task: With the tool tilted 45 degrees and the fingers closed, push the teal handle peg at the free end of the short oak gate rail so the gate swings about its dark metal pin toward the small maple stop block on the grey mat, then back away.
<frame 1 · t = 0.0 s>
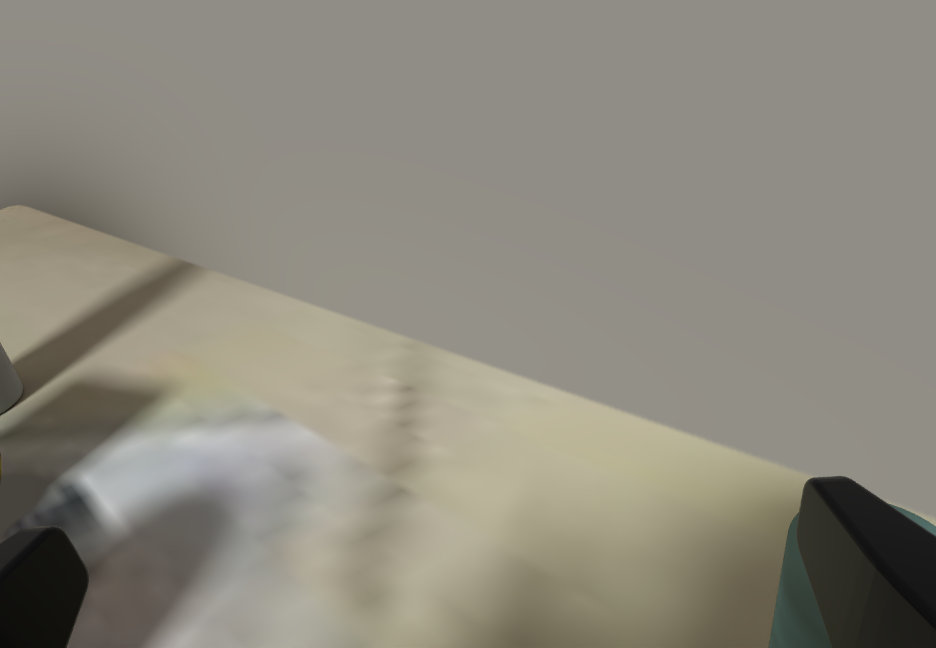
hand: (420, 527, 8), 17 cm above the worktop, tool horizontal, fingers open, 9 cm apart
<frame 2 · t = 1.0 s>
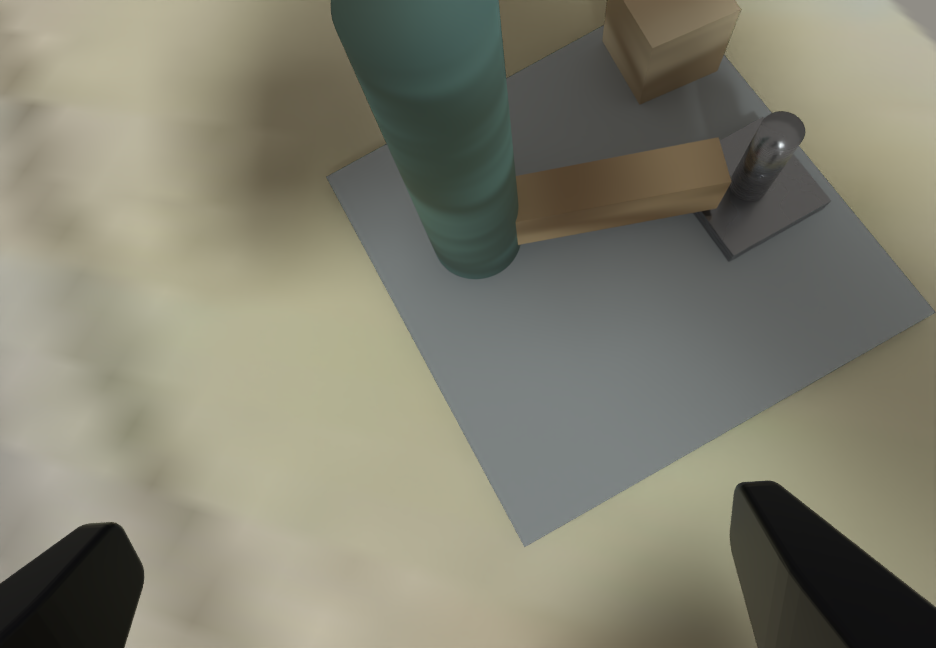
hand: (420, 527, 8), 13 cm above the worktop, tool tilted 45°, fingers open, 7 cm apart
post on square base: (743, 192, 22), resting on yard mat
stop block: (658, 55, 24), resting on yard mat
gate: (574, 132, 17), point 6 cm above the worktop, hinge at 0.0°
yard mat: (603, 244, 23), on the worktop
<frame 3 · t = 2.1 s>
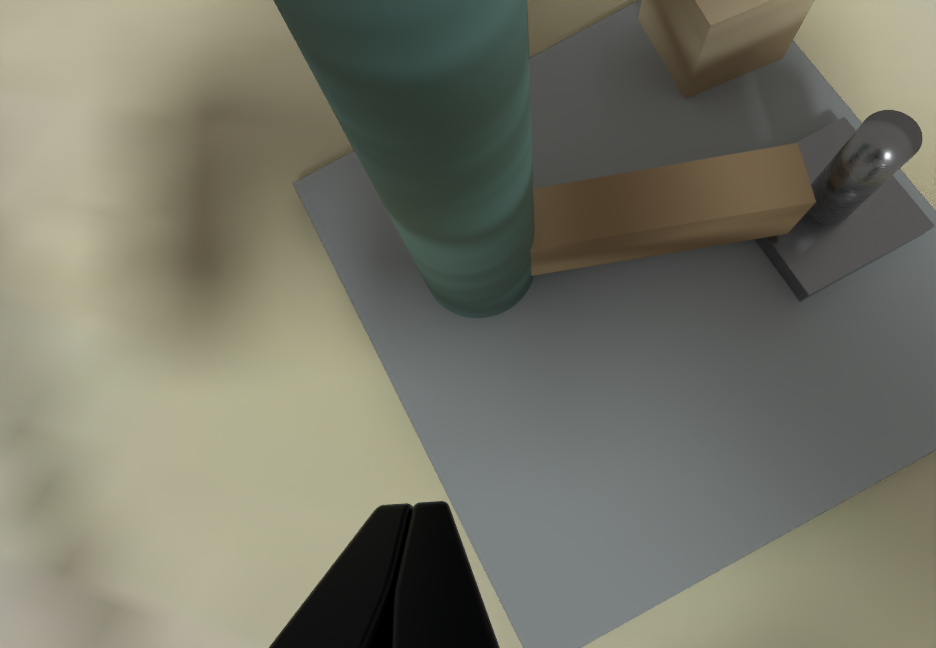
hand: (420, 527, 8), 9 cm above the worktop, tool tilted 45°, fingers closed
post on square base: (817, 212, 17), resting on yard mat
stop block: (708, 38, 19), resting on yard mat
gate: (617, 134, 12), point 6 cm above the worktop, hinge at 0.0°
yard mat: (638, 274, 18), on the worktop
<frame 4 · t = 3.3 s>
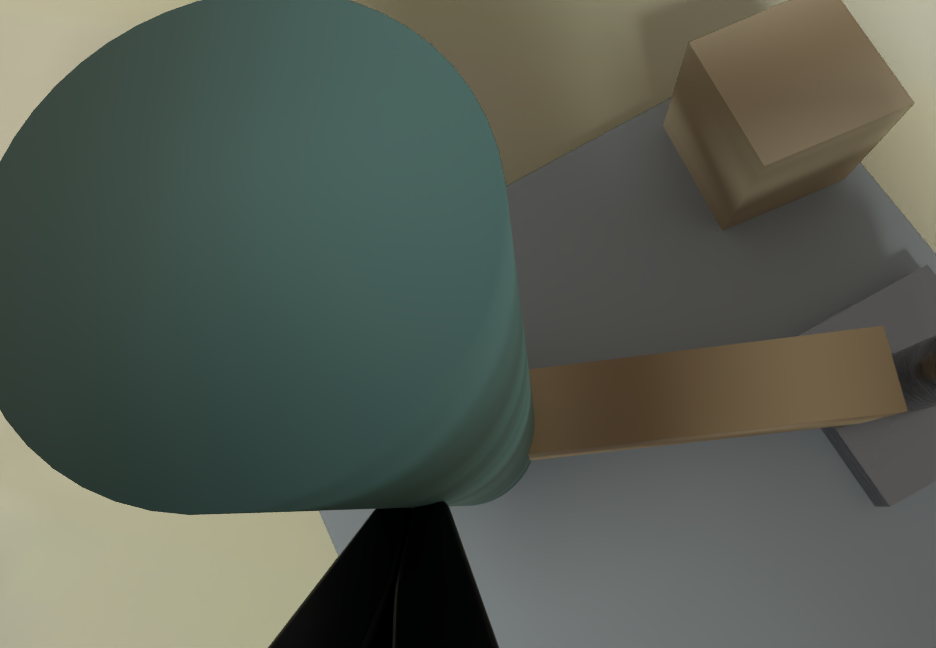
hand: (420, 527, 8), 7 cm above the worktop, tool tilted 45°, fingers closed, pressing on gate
post on square base: (894, 385, 14), resting on yard mat
stop block: (750, 152, 15), resting on yard mat
gate: (651, 364, 9), point 6 cm above the worktop, hinge at -2.0°, touching gripper
yard mat: (666, 456, 14), on the worktop
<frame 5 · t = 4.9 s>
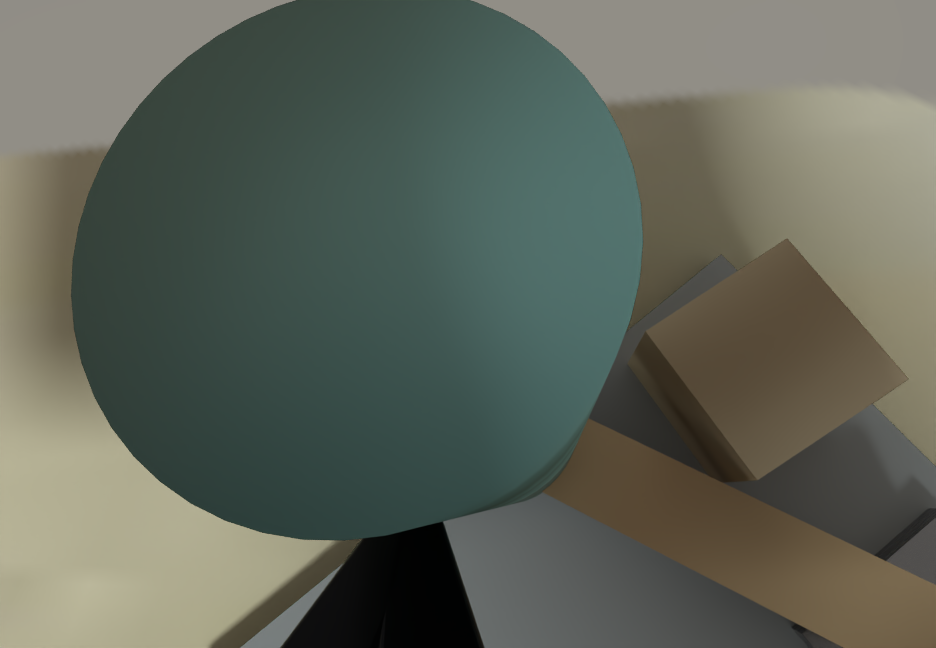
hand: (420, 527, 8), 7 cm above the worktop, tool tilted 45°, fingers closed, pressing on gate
stop block: (727, 383, 14), resting on yard mat
gate: (696, 503, 8), point 6 cm above the worktop, hinge at -45.4°, touching gripper
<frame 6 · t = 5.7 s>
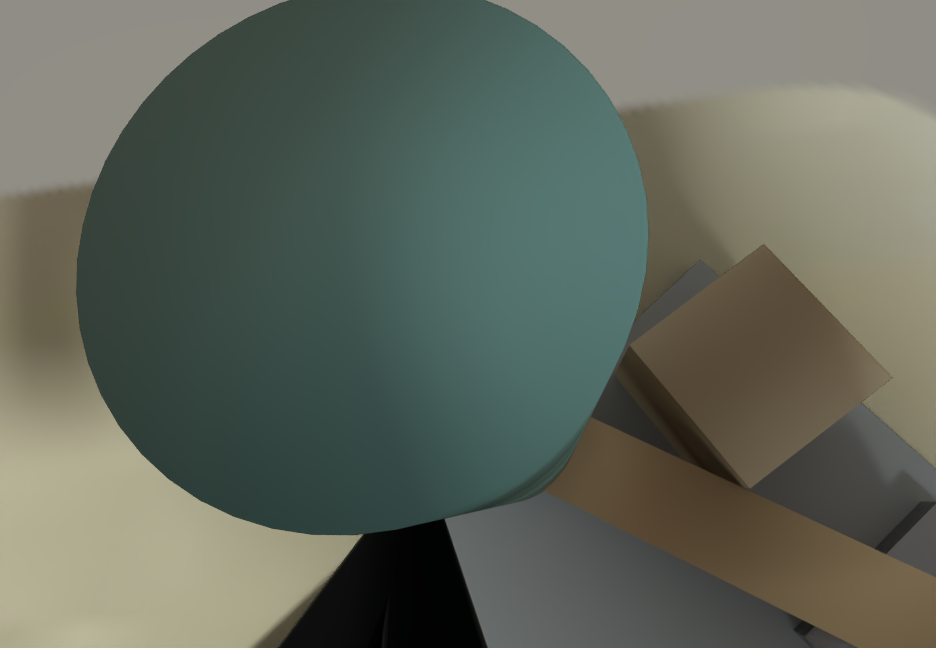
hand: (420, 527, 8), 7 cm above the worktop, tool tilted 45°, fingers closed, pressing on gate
stop block: (715, 388, 14), resting on yard mat
gate: (699, 499, 8), point 6 cm above the worktop, hinge at -48.3°, touching gripper, stop block
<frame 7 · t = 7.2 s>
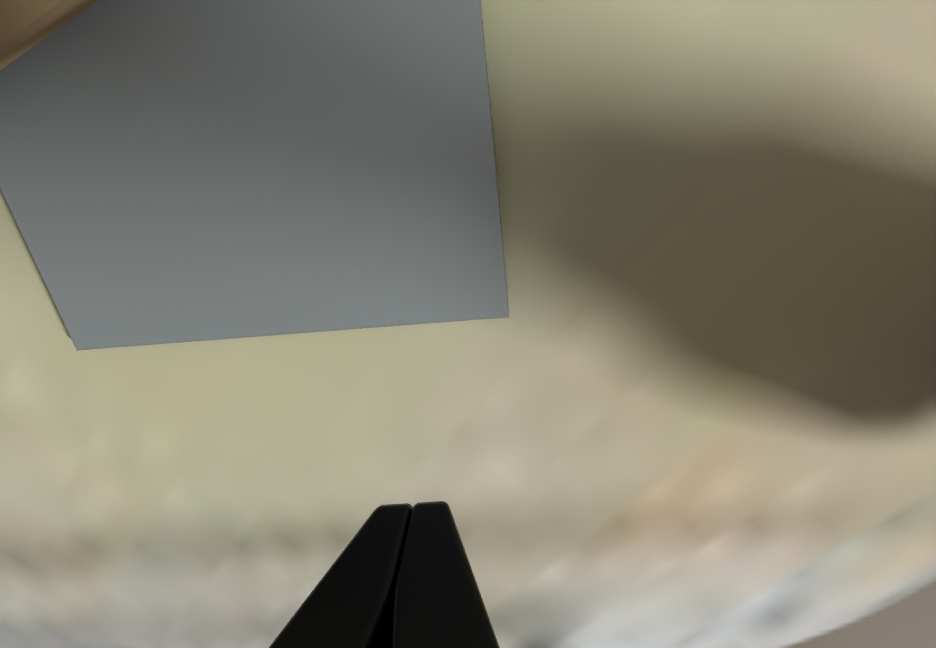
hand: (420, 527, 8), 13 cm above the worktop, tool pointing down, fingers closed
yard mat: (227, 101, 18), on the worktop
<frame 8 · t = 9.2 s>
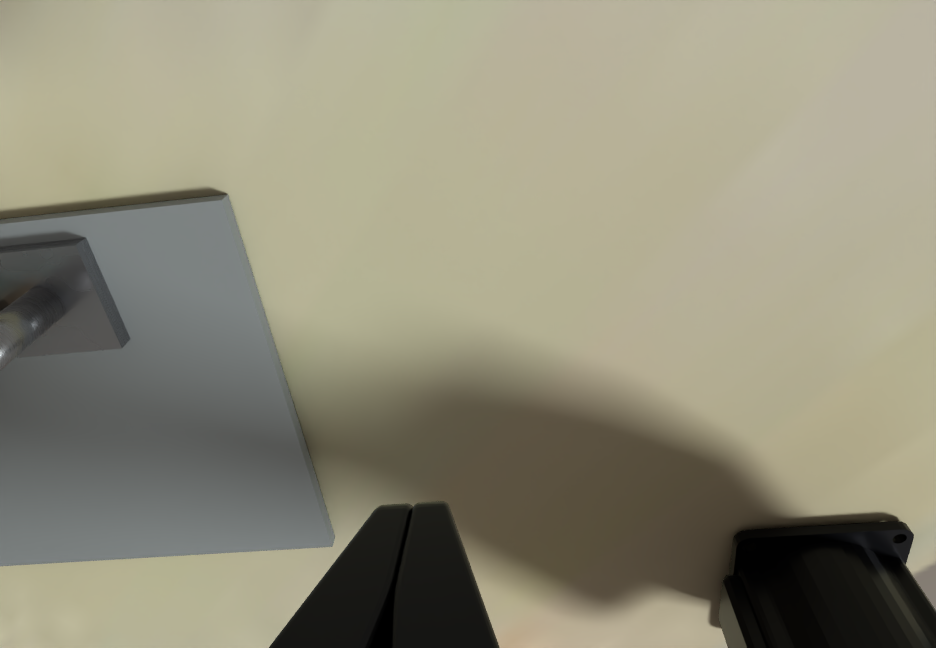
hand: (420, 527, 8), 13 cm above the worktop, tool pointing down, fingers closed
post on square base: (56, 295, 21), resting on yard mat
yard mat: (95, 407, 24), on the worktop
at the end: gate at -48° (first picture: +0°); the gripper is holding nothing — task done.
